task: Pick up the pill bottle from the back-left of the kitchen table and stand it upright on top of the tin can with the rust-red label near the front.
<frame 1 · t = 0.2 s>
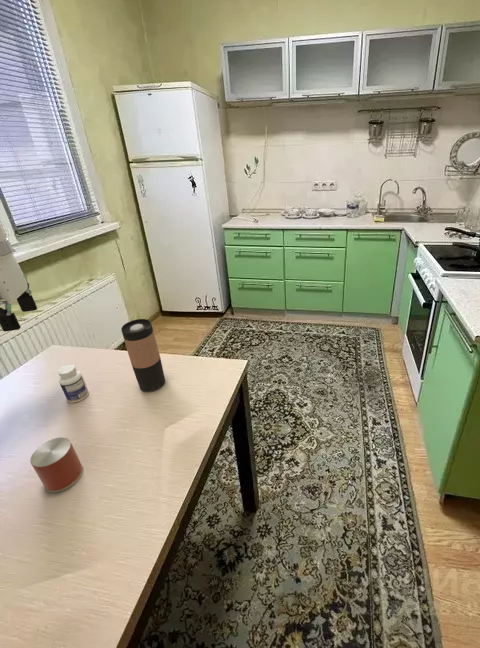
hand: (21, 319, 77), 27 cm above the table, tool pointing down, fingers open, 9 cm apart
tin can: (64, 476, 69), on the table
pill bottle: (78, 396, 92), on the table
travel mug: (152, 384, 96), on the table
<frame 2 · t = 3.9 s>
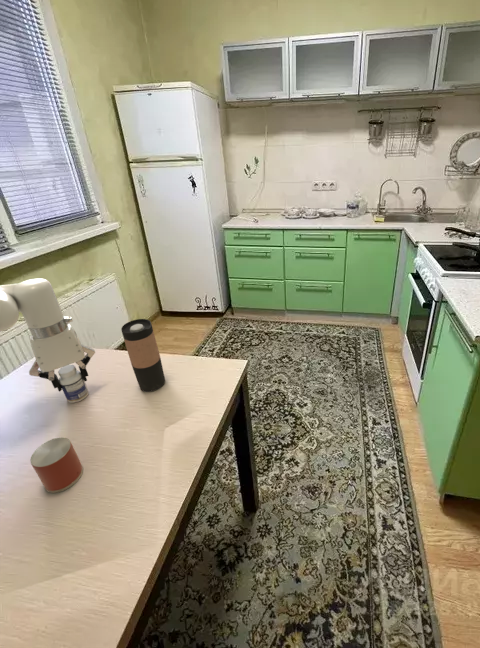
hand: (72, 382, 89), 5 cm above the table, tool pointing down, fingers closed on pill bottle, 5 cm apart
pill bottle: (78, 396, 92), on the table, touching gripper
everything else where it was.
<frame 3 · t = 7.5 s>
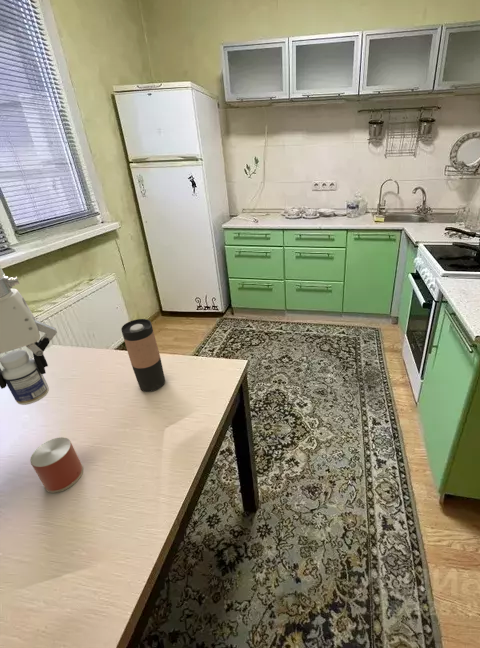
hand: (23, 376, 62), 24 cm above the table, tool pointing down, fingers closed on pill bottle, 5 cm apart
pill bottle: (33, 396, 64), point 19 cm above the table, touching gripper
everything else where it was.
when the fingers open (13 cm above the table, at t = 11.5 s): pill bottle stays where it is, resting on tin can.
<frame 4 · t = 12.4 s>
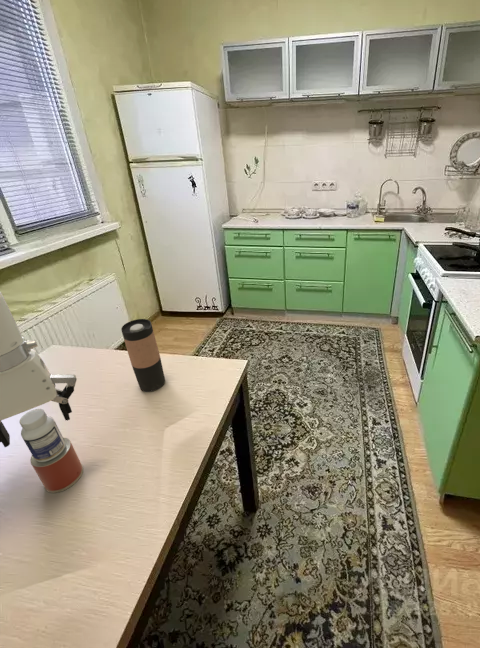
hand: (38, 428, 63), 15 cm above the table, tool pointing down, fingers open, 9 cm apart
tin can: (64, 476, 69), on the table, touching pill bottle
pill bottle: (51, 451, 66), point 8 cm above the table, touching tin can
everything else where it was.
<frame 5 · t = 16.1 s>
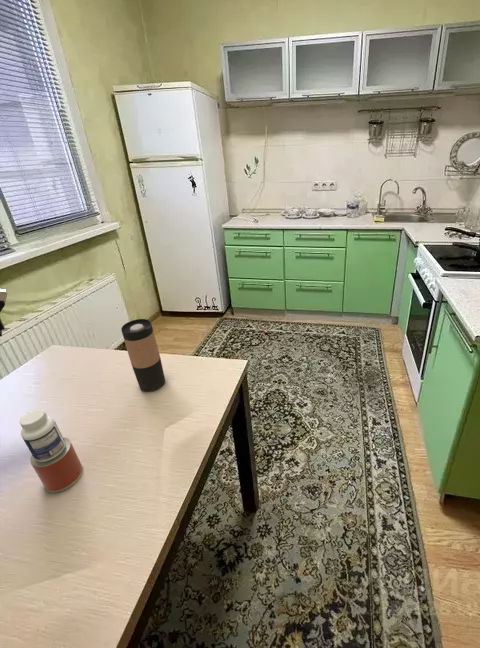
nothing on the table moved.
at the end: pill bottle 0.1 cm off-centre on the tin can, point 7.9 cm above the tin can's base; pill bottle tilted 0°; tin can tilted 0° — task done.
